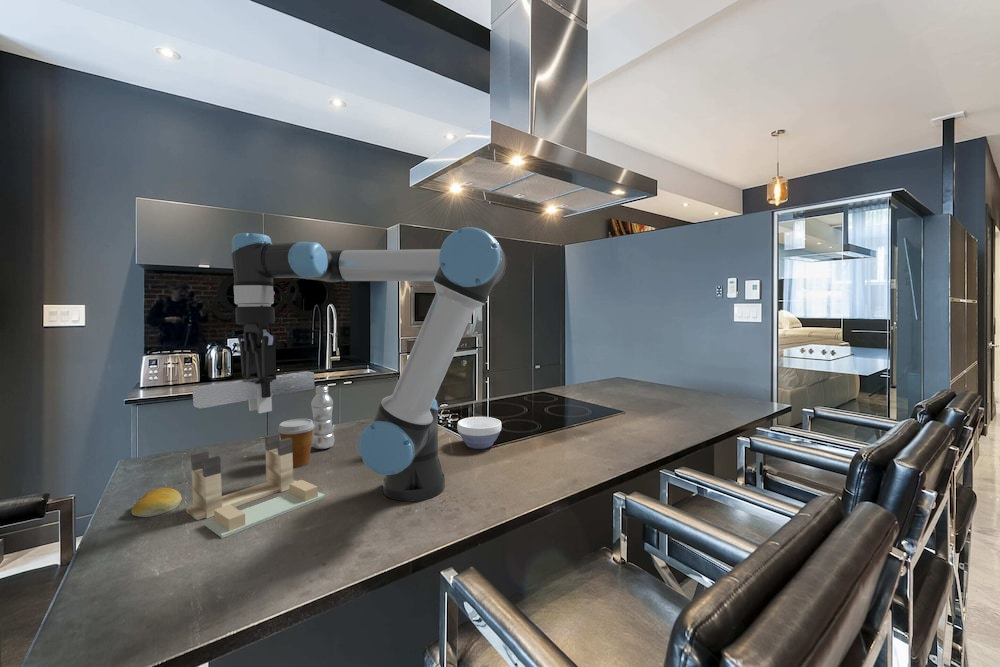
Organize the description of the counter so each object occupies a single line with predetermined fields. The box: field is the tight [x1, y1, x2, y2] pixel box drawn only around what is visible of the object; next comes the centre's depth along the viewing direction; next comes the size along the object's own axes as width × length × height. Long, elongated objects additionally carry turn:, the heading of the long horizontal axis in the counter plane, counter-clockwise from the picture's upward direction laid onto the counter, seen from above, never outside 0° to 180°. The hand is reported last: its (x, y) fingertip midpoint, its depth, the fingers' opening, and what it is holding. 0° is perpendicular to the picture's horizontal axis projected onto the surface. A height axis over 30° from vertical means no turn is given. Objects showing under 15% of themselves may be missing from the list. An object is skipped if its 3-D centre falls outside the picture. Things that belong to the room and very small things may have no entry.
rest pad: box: [205, 479, 326, 539], centre depth 94 cm, size 8×22×3 cm, turn 145°
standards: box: [186, 433, 297, 521], centre depth 100 cm, size 7×22×12 cm, turn 145°
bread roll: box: [131, 487, 183, 518], centre depth 95 cm, size 8×9×4 cm
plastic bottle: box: [310, 384, 335, 450], centre depth 135 cm, size 6×7×20 cm
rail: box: [191, 370, 316, 410], centre depth 95 cm, size 4×24×4 cm, turn 143°
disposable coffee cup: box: [277, 418, 314, 468], centre depth 122 cm, size 10×10×12 cm
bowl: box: [456, 416, 502, 450], centre depth 139 cm, size 14×14×8 cm
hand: (260, 410), depth 95 cm, fingers closed on rail, 3 cm apart
